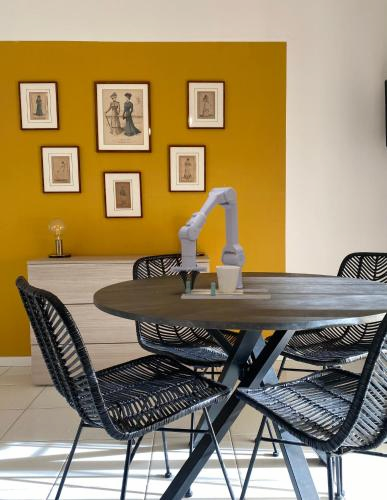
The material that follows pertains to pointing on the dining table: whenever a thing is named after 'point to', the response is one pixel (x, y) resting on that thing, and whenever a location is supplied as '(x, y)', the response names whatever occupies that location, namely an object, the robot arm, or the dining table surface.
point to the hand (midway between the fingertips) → (189, 289)
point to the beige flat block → (188, 290)
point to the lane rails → (227, 296)
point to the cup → (227, 278)
